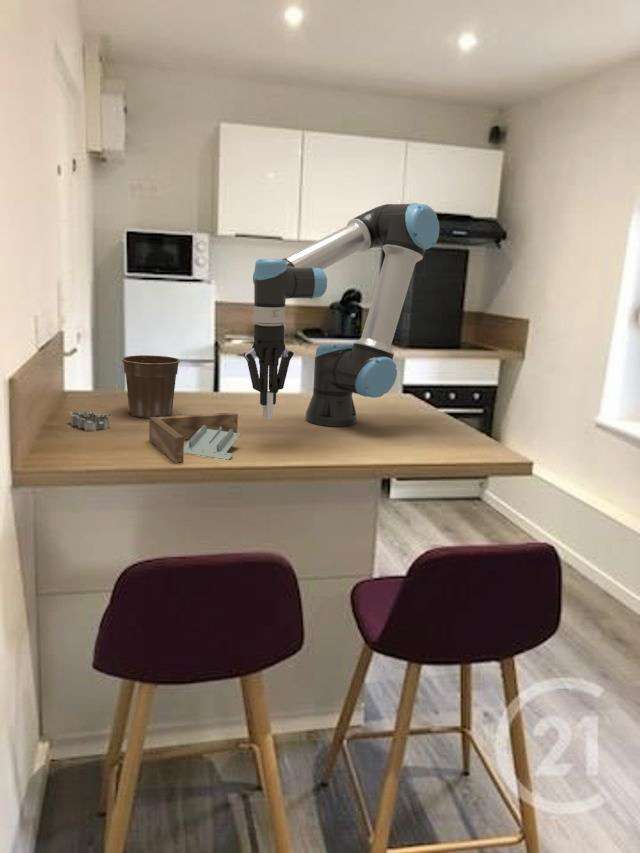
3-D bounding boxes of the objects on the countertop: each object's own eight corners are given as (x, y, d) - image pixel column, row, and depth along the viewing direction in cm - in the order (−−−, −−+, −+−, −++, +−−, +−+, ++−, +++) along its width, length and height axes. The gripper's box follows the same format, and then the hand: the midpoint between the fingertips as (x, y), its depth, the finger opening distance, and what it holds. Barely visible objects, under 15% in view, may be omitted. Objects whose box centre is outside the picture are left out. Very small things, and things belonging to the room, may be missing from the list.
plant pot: (131, 405, 208) (131, 352, 204) (184, 409, 208) (185, 356, 204) (114, 418, 192) (113, 361, 188) (171, 422, 192) (172, 365, 188)
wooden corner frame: (234, 434, 184) (234, 412, 182) (266, 454, 168) (267, 430, 166) (149, 440, 172) (149, 417, 171) (174, 463, 156) (175, 437, 154)
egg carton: (113, 429, 182) (112, 414, 180) (85, 433, 176) (85, 417, 175) (93, 420, 189) (93, 406, 188) (67, 424, 184) (67, 409, 183)
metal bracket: (194, 419, 174) (249, 426, 170) (196, 438, 177) (250, 446, 173) (167, 447, 163) (225, 456, 159) (170, 468, 165) (227, 477, 161)
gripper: (251, 326, 161) (250, 423, 168) (300, 324, 168) (297, 418, 174) (238, 322, 168) (237, 416, 174) (285, 321, 174) (283, 411, 180)
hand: (267, 417), depth 174 cm, fingers closed
